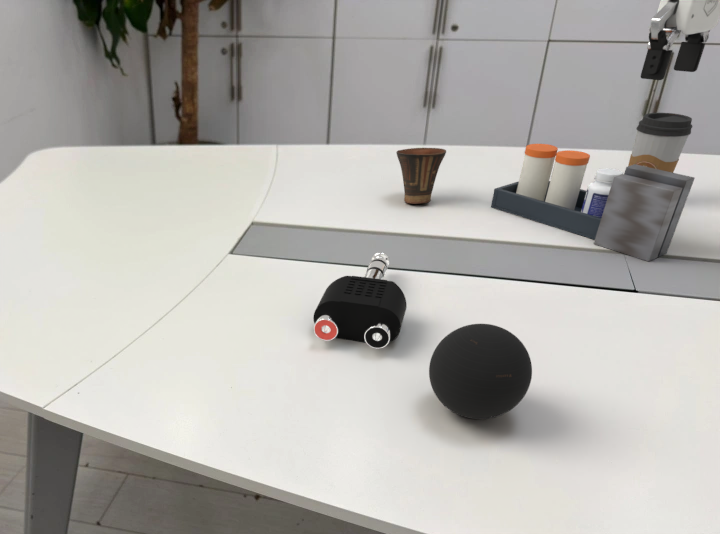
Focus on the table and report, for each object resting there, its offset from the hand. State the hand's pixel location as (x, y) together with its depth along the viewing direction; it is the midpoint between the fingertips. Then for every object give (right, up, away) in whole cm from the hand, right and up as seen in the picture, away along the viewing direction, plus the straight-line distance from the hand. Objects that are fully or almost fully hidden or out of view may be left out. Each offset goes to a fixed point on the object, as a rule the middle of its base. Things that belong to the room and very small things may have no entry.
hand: (668, 74), depth 103 cm
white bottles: (-9, -15, +20) cm, 27 cm away
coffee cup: (+10, -13, +23) cm, 29 cm away
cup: (-31, -12, +27) cm, 43 cm away
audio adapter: (-48, -37, -9) cm, 62 cm away
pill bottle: (-4, -20, +13) cm, 24 cm away
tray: (-7, -17, +18) cm, 26 cm away
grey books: (-3, -26, +5) cm, 26 cm away
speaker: (-42, -50, -30) cm, 72 cm away
